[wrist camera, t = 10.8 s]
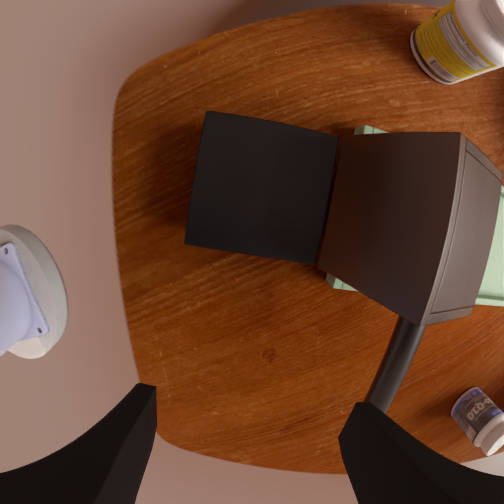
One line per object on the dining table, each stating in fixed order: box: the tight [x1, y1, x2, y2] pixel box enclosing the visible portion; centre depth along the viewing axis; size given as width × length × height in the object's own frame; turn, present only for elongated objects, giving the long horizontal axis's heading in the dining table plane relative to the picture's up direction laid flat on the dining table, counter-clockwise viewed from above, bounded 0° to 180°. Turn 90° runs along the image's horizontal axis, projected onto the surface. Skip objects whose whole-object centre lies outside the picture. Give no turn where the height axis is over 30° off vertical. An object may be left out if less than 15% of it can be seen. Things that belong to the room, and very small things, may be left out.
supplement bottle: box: [410, 0, 504, 84], centre depth 11 cm, size 5×5×10 cm
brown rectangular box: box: [317, 132, 503, 414], centre depth 13 cm, size 7×14×5 cm
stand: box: [184, 111, 339, 264], centre depth 16 cm, size 7×7×4 cm
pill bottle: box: [451, 387, 504, 456], centre depth 20 cm, size 5×5×8 cm
